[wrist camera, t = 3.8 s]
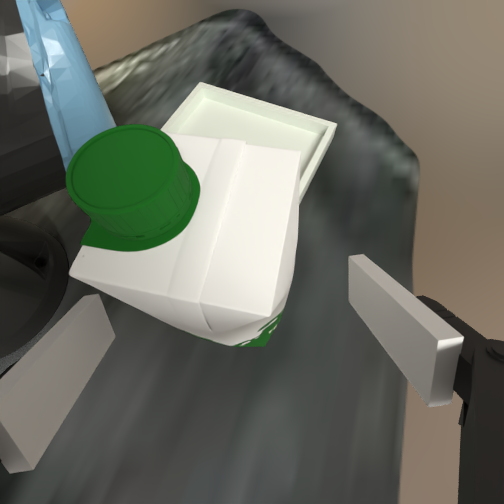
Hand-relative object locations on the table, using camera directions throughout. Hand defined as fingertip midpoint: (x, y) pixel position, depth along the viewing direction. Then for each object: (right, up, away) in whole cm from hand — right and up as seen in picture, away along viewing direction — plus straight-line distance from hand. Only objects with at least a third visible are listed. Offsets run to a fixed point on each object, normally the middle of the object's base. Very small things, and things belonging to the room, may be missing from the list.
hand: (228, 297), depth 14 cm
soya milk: (0, -3, +13) cm, 14 cm away
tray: (-1, +15, +21) cm, 26 cm away
